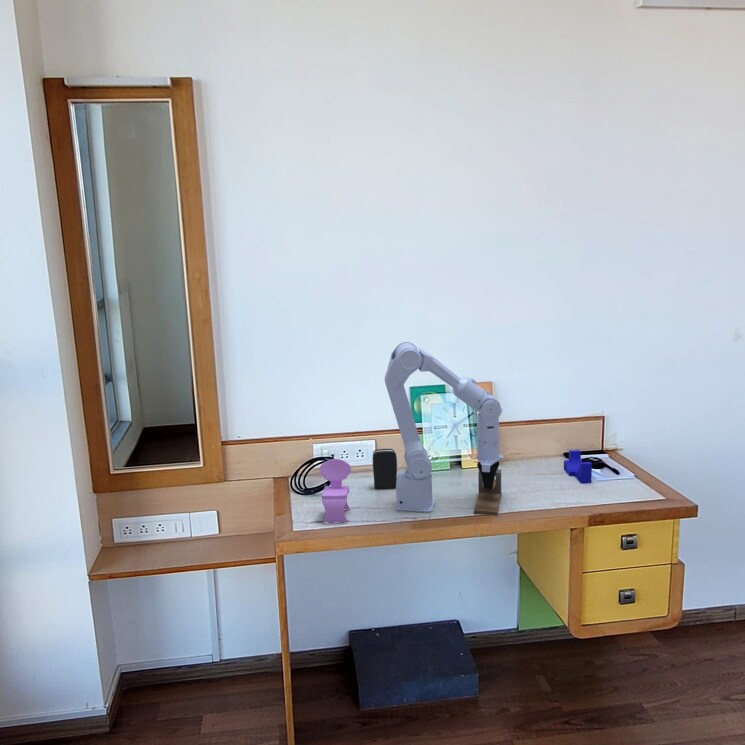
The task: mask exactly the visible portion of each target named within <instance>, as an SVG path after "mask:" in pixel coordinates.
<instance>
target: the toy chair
mask: <svg viewBox="0 0 745 745" xmlns="http://www.w3.org/2000/svg"><path fill="white" fill-rule="evenodd" d="M318 468H319V469H318V470H319V472H320V475H321V476H322V477H323V479H325V480H327V481H329V482H330V485H329V486H324V488H323V491H322V494H321V502H322V505H323V507H324V511H325V517H324V520H323V522H348V523H349V521H348V520H347V518H346V515H345V510H344V509H350V510H351V508H350V507H349V504H348V495H349V492H350V488H349V485H344V486H343V483H342V482H343V481H345V479H347V477H348V476H349V475H350V474H351V473H352V472H351V471H352V467H351V465H350V463H348V462H347V461H345V460H343V459H339V458H332V459H329V460H328V459H327V461H324V462H322V463H321V465H320V466H319V467H318Z"/></svg>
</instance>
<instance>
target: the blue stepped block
mask: <svg viewBox="0 0 745 745" xmlns="http://www.w3.org/2000/svg"><path fill="white" fill-rule="evenodd" d="M581 454H582V453H581V450H579V449H575V450H574V449H573V450H568V459H564V460H563V470H564V472H565V473H566V474H567V475H568V476H569V477H575V479H576V480H577V481H578V482H579V483H580V484H592V475H593V474H592V470H593V463H592V462H591V461H584V462H582V456H581Z"/></svg>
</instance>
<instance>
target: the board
mask: <svg viewBox="0 0 745 745" xmlns="http://www.w3.org/2000/svg"><path fill="white" fill-rule="evenodd" d="M501 497H502V493H501V494H491V493H479V492H478V494H477V498H476V502H475V505H474V510H473V514H474V515H482V514H483V516H484V515H485V516H498V515H499V510H500V509H499V508H500V504H501V499H502V498H501Z"/></svg>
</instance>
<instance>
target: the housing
mask: <svg viewBox="0 0 745 745" xmlns="http://www.w3.org/2000/svg"><path fill="white" fill-rule="evenodd" d="M477 474H478V480H477V481H478V483H477V484H478V493H491V494H501V495H502V469H499V468H498V469H497V471H496V473H495V481H496V486H495V489H494V490H493V491H490V492H488V491H485V490H484V489H483V487H482V482H483V480H482V476H481V473H480V471H479V470H478V472H477Z"/></svg>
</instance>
